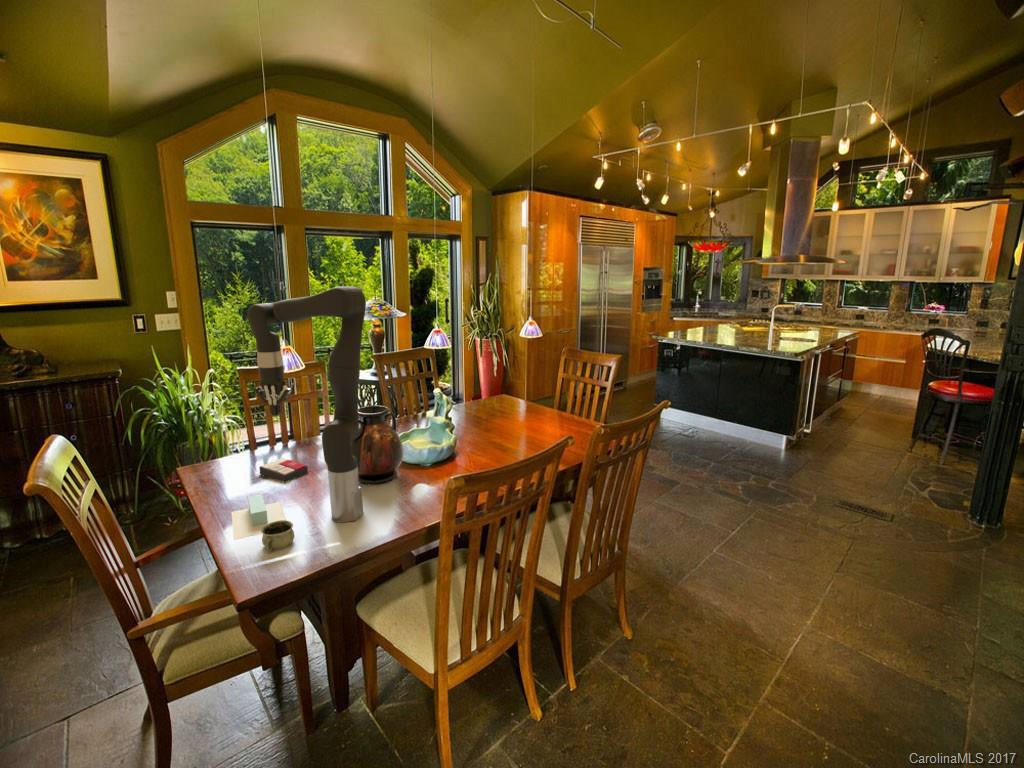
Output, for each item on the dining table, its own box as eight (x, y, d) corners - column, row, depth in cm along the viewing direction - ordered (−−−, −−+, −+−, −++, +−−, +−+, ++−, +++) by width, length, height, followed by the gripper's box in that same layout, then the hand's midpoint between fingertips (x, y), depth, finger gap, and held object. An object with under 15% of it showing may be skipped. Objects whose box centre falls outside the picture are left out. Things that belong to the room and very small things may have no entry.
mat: (288, 528, 156) (288, 526, 156) (234, 541, 149) (234, 539, 149) (280, 503, 173) (280, 501, 173) (231, 514, 165) (231, 512, 165)
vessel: (276, 535, 153) (274, 516, 151) (304, 536, 152) (302, 518, 151) (253, 556, 141) (250, 537, 140) (282, 558, 140) (280, 538, 139)
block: (266, 510, 157) (262, 493, 169) (250, 513, 155) (247, 496, 167) (267, 523, 158) (263, 505, 170) (252, 526, 156) (249, 508, 168)
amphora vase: (386, 462, 210) (383, 399, 203) (415, 478, 195) (412, 409, 189) (338, 477, 195) (332, 409, 189) (365, 494, 180) (360, 421, 174)
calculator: (284, 474, 190) (258, 465, 196) (285, 484, 191) (259, 475, 197) (307, 464, 199) (282, 456, 206) (308, 474, 200) (283, 465, 207)
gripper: (295, 363, 166) (300, 412, 170) (259, 361, 168) (265, 411, 172) (282, 367, 159) (287, 419, 162) (244, 366, 161) (250, 417, 164)
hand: (276, 414), depth 167 cm, fingers closed
